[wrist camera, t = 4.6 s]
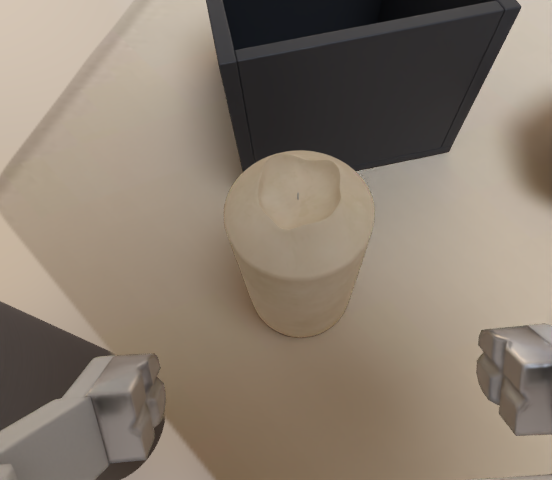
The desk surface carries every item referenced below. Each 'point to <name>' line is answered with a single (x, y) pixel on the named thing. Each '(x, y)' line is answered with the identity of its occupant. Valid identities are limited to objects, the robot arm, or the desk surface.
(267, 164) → the candle
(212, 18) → the dark open square box
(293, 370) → the desk surface
